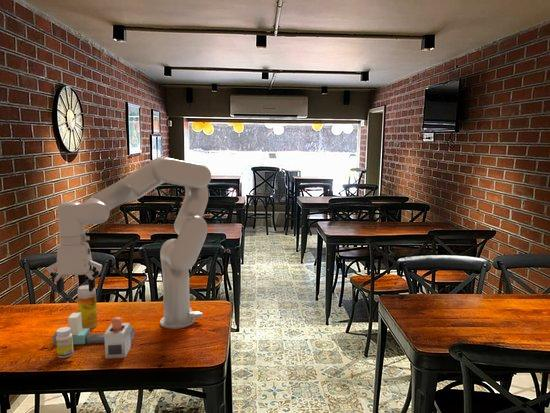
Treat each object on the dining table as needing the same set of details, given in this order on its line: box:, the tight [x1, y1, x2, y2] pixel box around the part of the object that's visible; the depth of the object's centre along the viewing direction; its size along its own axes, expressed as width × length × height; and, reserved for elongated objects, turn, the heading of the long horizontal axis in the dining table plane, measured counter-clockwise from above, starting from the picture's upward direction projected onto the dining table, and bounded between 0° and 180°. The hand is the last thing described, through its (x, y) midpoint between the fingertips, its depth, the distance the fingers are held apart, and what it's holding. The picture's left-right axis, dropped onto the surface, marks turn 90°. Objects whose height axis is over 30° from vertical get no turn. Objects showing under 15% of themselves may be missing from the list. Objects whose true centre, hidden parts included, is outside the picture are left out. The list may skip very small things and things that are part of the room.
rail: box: [52, 325, 135, 347], centre depth 147 cm, size 25×5×4 cm, turn 96°
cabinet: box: [104, 322, 132, 359], centre depth 139 cm, size 6×8×8 cm
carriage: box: [67, 312, 90, 345], centre depth 146 cm, size 7×6×9 cm
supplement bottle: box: [55, 326, 75, 359], centre depth 138 cm, size 5×5×8 cm
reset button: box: [111, 316, 123, 331], centre depth 138 cm, size 3×3×4 cm
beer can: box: [76, 284, 98, 330], centre depth 159 cm, size 6×6×15 cm
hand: (76, 290), depth 144 cm, fingers open, 9 cm apart
